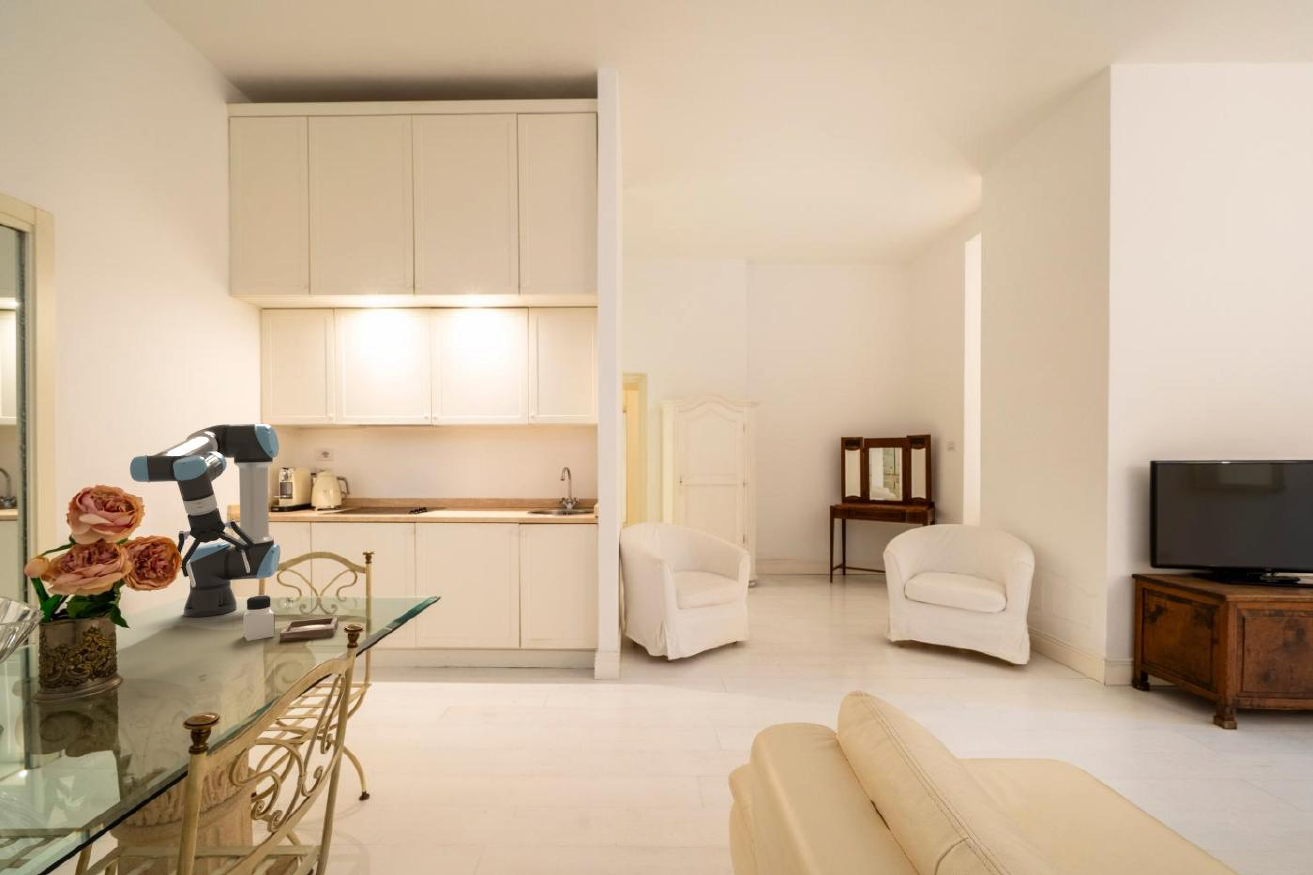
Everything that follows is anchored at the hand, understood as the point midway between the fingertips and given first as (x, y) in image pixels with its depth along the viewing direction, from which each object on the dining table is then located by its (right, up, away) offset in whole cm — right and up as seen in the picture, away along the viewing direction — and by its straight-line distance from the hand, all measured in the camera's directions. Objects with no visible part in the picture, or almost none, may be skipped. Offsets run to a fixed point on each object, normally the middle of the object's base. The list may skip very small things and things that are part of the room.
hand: (221, 578), depth 192 cm
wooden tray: (+21, -19, +8) cm, 30 cm away
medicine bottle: (+8, -19, +5) cm, 21 cm away
